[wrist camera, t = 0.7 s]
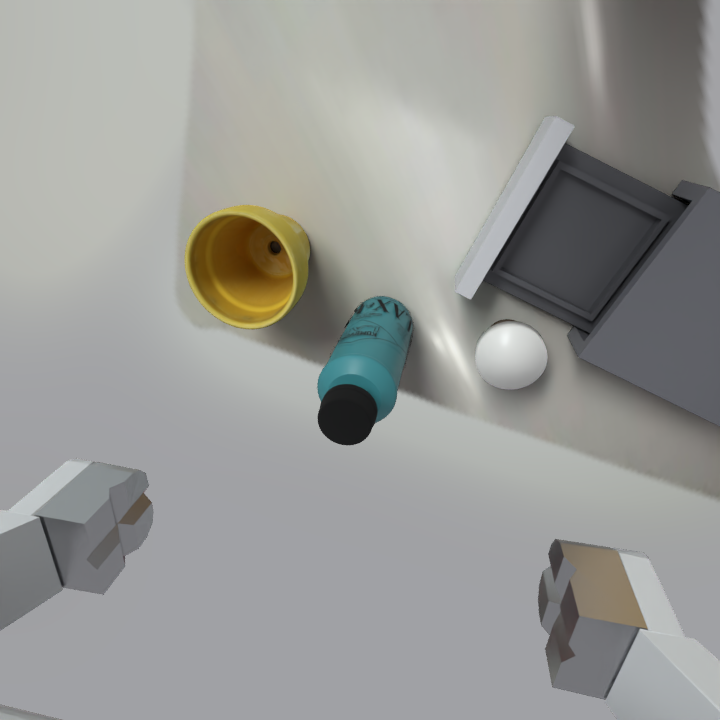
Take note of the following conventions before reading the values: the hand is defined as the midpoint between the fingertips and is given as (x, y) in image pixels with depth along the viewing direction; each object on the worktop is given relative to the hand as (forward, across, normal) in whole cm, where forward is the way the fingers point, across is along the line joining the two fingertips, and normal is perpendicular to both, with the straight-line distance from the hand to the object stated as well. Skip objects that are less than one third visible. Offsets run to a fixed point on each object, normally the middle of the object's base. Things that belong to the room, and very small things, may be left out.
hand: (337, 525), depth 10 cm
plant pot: (+40, +15, +4) cm, 43 cm away
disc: (+36, -9, +12) cm, 39 cm away
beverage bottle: (+40, +4, +11) cm, 42 cm away
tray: (+40, -14, +2) cm, 42 cm away
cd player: (+40, -26, +6) cm, 48 cm away
